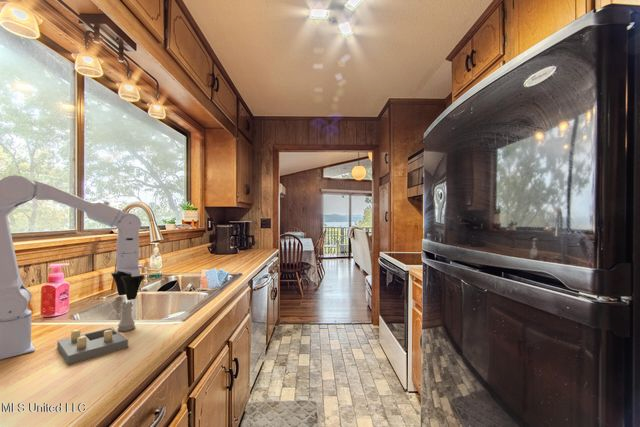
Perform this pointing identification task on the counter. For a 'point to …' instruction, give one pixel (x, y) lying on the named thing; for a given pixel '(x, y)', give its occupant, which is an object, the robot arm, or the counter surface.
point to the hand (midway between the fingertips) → (127, 296)
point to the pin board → (90, 344)
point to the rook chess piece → (126, 317)
